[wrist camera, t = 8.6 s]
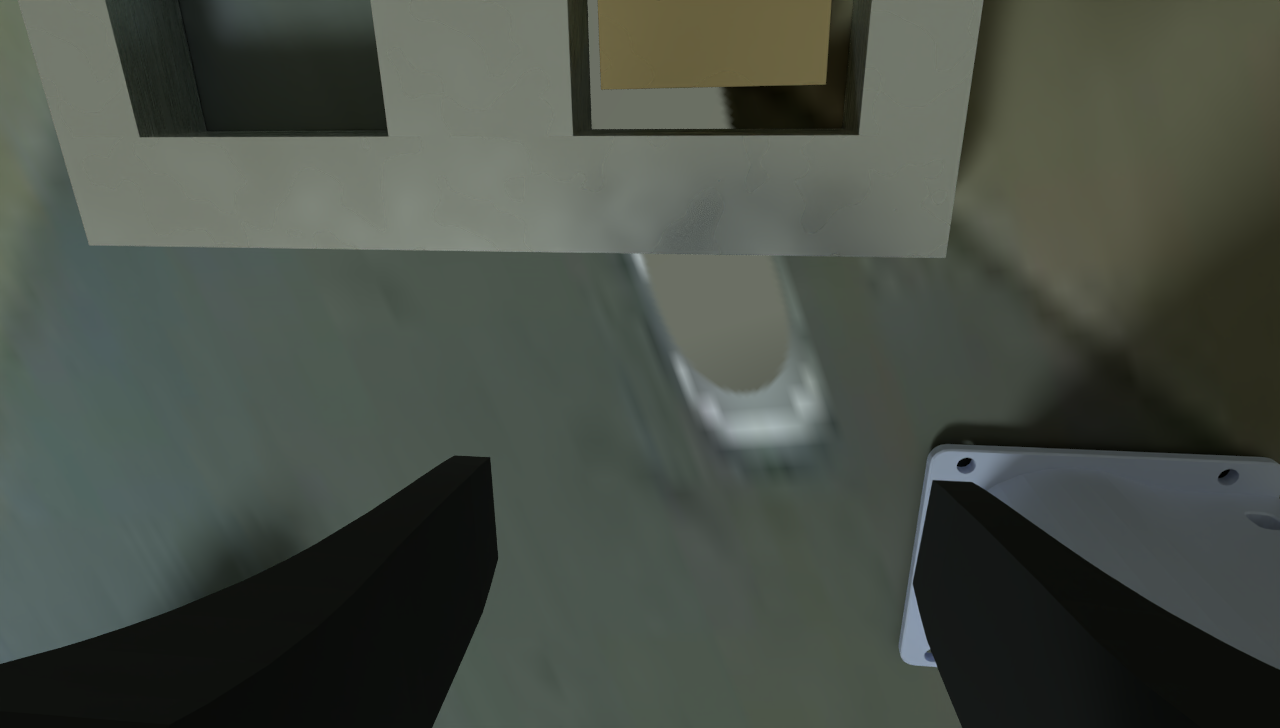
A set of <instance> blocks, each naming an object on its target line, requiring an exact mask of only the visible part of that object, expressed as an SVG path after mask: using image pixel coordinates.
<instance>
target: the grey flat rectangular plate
mask: <svg viewBox="0 0 1280 728" xmlns="http://www.w3.org/2000/svg"><path fill="white" fill-rule="evenodd" d="M18 2H19V6H20V9H21V13H22V16H23V20H24V23H25V26H26V30H27V33H28V37H29V40H30V44H31V47H32V50H33V54H34V57H35V61H36V64H37V68H38V71H39V74H40V78H41V81H42V85H43V88H44V92H45V95H46V98H47V102H48V105H49V109H50V112H51V116H52V119H53V122H54V126H55V129H56V133H57V136H58V140H59V143H60V146H61V150H62V153H63V157H64V160H65V163H66V167H67V170H68V174H69V177H70V181H71V184H72V187H73V191H74V194H75V198H76V201H77V205H78V208H79V211H80V215H81V218H82V222H83V225H84V229H85V232H86V235H87V239H88V242H89V245H104V246H172V247H240V248H307V249H375V250H443V251H511V252H578V253H646V254H651V253H652V254H716V255H781V256H849V257H917V258H946V251H947V245H948V238H949V231H950V224H951V217H952V211H953V204H954V197H955V190H956V183H957V177H958V170H959V163H960V156H961V149H962V143H963V136H964V129H965V122H966V115H967V109H968V102H969V95H970V88H971V82H972V75H973V68H974V61H975V54H976V48H977V41H978V34H979V27H980V20H981V14H982V7H983V0H853V11H852V22H851V34H850V45H849V56H848V68H847V79H846V91H845V102H844V113H843V125H842V129H617V130H616V129H609V130H608V129H607V130H606V129H601V130H599V129H598V130H597V129H593V130H592V128H591V98H590V68H589V39H588V11H587V10H588V7H587V0H371V7H372V15H373V22H374V30H375V37H376V45H377V53H378V60H379V68H380V75H381V83H382V91H383V98H384V106H385V113H386V121H387V129H388V130H331V131H206V126H205V121H204V117H203V112H202V108H201V103H200V99H199V94H198V89H197V85H196V80H195V76H194V71H193V67H192V62H191V58H190V53H189V48H188V44H187V39H186V35H185V30H184V26H183V21H182V16H181V12H180V7H179V3H178V0H18Z"/></svg>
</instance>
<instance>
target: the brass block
mask: <svg viewBox="0 0 1280 728" xmlns="http://www.w3.org/2000/svg"><path fill="white" fill-rule="evenodd" d="M830 15H831V0H598V19H599V45H600V72H601V89H643V88H644V89H645V88H691V87H736V86H780V85H824V84H826V75H827V60H828V45H829V30H830Z"/></svg>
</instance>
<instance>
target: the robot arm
mask: <svg viewBox="0 0 1280 728" xmlns="http://www.w3.org/2000/svg"><path fill="white" fill-rule="evenodd" d="M963 458H971V459H972V460H971V462H970V464H968V465H967V466H964V467H959V466H957V464H958V462H959V461H960V460H961V459H963ZM1228 469H1230V471H1229V472H1228V474H1227V475H1226V476H1224V477H1222V478H1218V476H1219V475H1220V473H1221V472H1223V471H1225V470H1228ZM1279 497H1280V464H1278V463H1277V462H1276V461H1274V460H1273V459H1271V458H1266V457H1250V456H1226V455H1202V454H1178V453H1154V452H1130V451H1106V450H1081V449H1057V448H1033V447H1009V446H985V445H961V444H943V445H939V446H937V447H935V448H934V449H933V450H932V451H931V452H930V453H929V455H928V458H927V464H926V470H925V477H924V483H923V490H922V496H921V503H920V509H919V516H918V522H917V529H916V535H915V542H914V548H913V555H912V561H911V568H910V574H909V581H908V587H907V594H906V600H905V607H904V613H903V620H902V626H901V633H900V639H899V652H900V655H901V658H902V659H903V660H904V661H905V662H906V663H908V664H911V665H917V666H931V667H938V670H939V672H940V675H941V677H942V680H943V682H944V685H945V687H946V689H947V692H948V694H949V697H950V699H951V701H952V704H953V706H954V709H955V711H956V714H957V716H958V718H959V721H960V723H961V726H962V728H1280V499H1279ZM497 561H498V550H497V537H496V525H495V512H494V500H493V487H492V475H491V462H490V457H472V456H453V457H451V458H450V459H448V460H446V461H444V462H443V463H441V464H440V465H438V466H437V467H435V468H434V469H432V470H431V471H429V472H428V473H426V474H425V475H423V476H422V477H420V478H419V479H417V480H416V481H414V482H413V483H411V484H410V485H408V486H407V487H406V488H404V489H403V490H401V491H400V492H398V493H397V494H395V495H394V496H392V497H391V498H389V499H388V500H386V501H385V502H383V503H382V504H380V505H379V506H377V507H376V508H374V509H373V510H371V511H369V512H368V513H366V514H365V515H363V516H361V517H360V518H358V519H356V520H355V521H353V522H351V523H350V524H348V525H347V526H345V527H343V528H342V529H340V530H338V531H337V532H335V533H333V534H332V535H330V536H328V537H327V538H325V539H323V540H322V541H320V542H318V543H317V544H315V545H313V546H311V547H310V548H308V549H306V550H304V551H302V552H300V553H298V554H297V555H295V556H293V557H291V558H289V559H287V560H285V561H283V562H281V563H279V564H277V565H275V566H273V567H271V568H269V569H267V570H265V571H263V572H261V573H259V574H257V575H255V576H253V577H250V578H248V579H246V580H244V581H242V582H240V583H237V584H235V585H232V586H230V587H228V588H225V589H223V590H220V591H218V592H216V593H213V594H211V595H208V596H206V597H204V598H201V599H199V600H196V601H194V602H192V603H189V604H187V605H184V606H182V607H180V608H177V609H175V610H172V611H169V612H167V613H164V614H161V615H158V616H156V617H153V618H150V619H147V620H145V621H142V622H139V623H136V624H133V625H131V626H128V627H125V628H121V629H118V630H115V631H112V632H109V633H106V634H103V635H100V636H97V637H94V638H91V639H88V640H85V641H81V642H78V643H75V644H71V645H68V646H65V647H61V648H58V649H54V650H50V651H47V652H43V653H39V654H36V655H32V656H28V657H25V658H21V659H17V660H14V661H10V662H6V663H3V664H0V728H432V727H433V724H434V722H435V720H436V718H437V715H438V713H439V711H440V709H441V706H442V704H443V702H444V700H445V697H446V695H447V693H448V690H449V688H450V686H451V684H452V681H453V679H454V677H455V675H456V672H457V670H458V668H459V666H460V663H461V661H462V659H463V657H464V654H465V652H466V650H467V647H468V645H469V643H470V641H471V638H472V636H473V634H474V631H475V629H476V627H477V624H478V622H479V620H480V617H481V615H482V613H483V610H484V606H485V603H486V600H487V596H488V593H489V590H490V586H491V583H492V579H493V575H494V572H495V568H496V564H497ZM928 650H931V652H932V653H926V651H928Z"/></svg>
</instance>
